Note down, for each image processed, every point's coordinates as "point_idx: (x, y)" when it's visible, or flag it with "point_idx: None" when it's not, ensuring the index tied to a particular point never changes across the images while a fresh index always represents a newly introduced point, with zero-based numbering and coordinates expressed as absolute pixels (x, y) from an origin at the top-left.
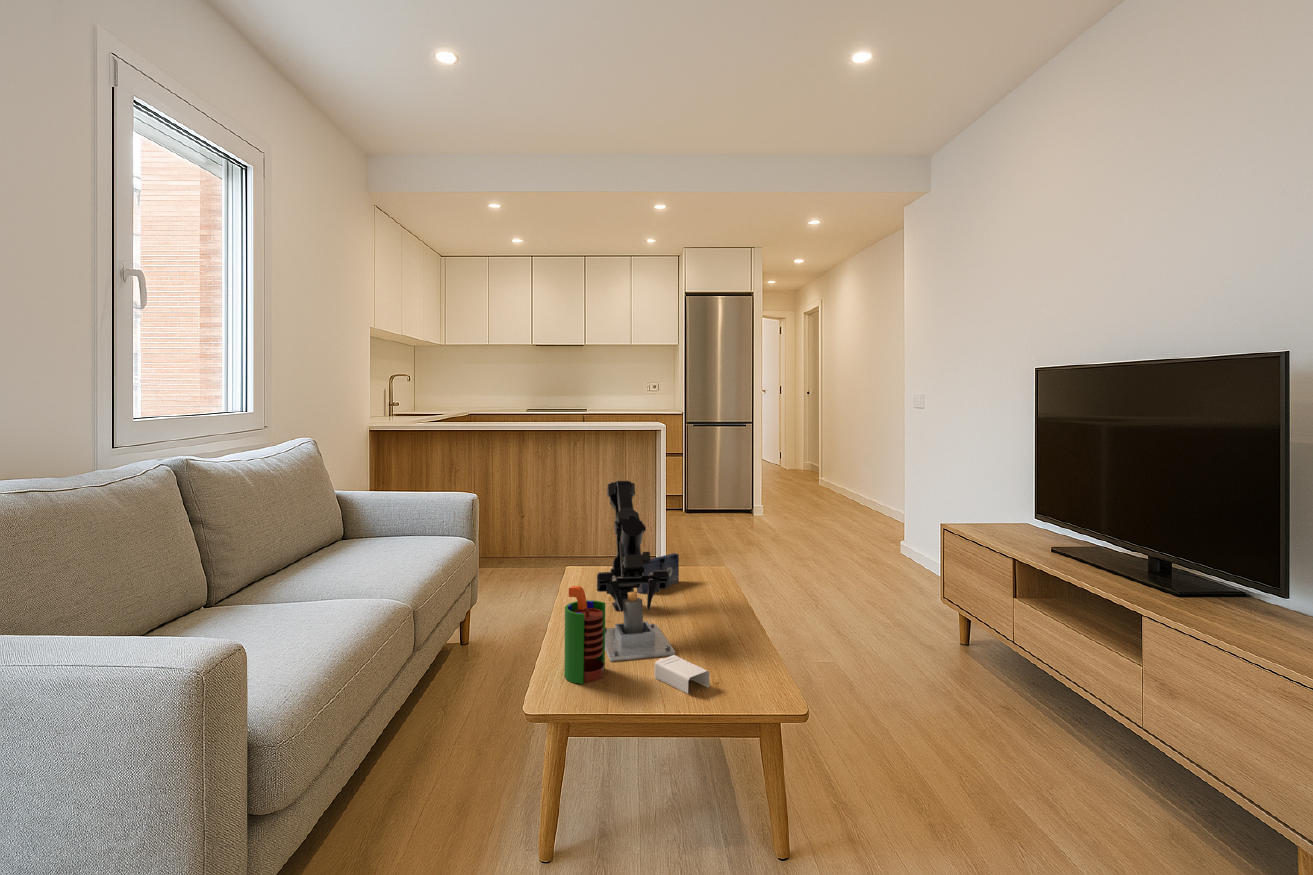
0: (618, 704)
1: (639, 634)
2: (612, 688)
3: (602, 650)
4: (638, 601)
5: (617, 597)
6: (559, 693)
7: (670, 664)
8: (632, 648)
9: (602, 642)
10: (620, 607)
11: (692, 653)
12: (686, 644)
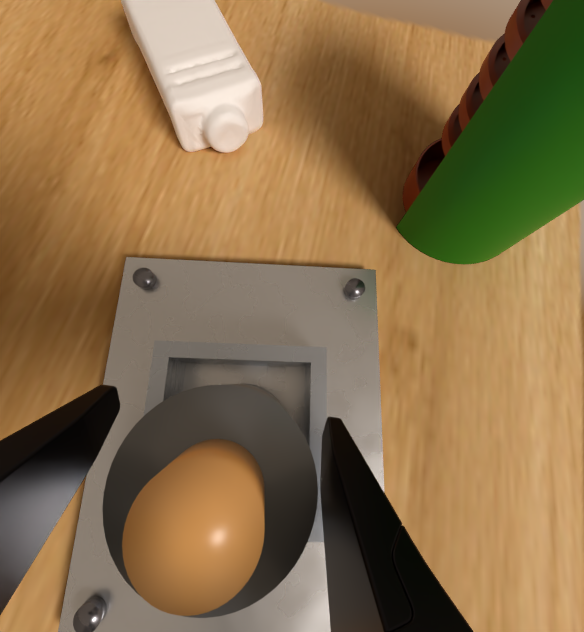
0: (385, 38)
1: (235, 344)
2: (389, 108)
3: (448, 123)
4: (168, 427)
5: (391, 519)
6: None
7: (217, 47)
8: (277, 328)
9: (466, 101)
10: (344, 431)
11: (64, 261)
12: (38, 354)
